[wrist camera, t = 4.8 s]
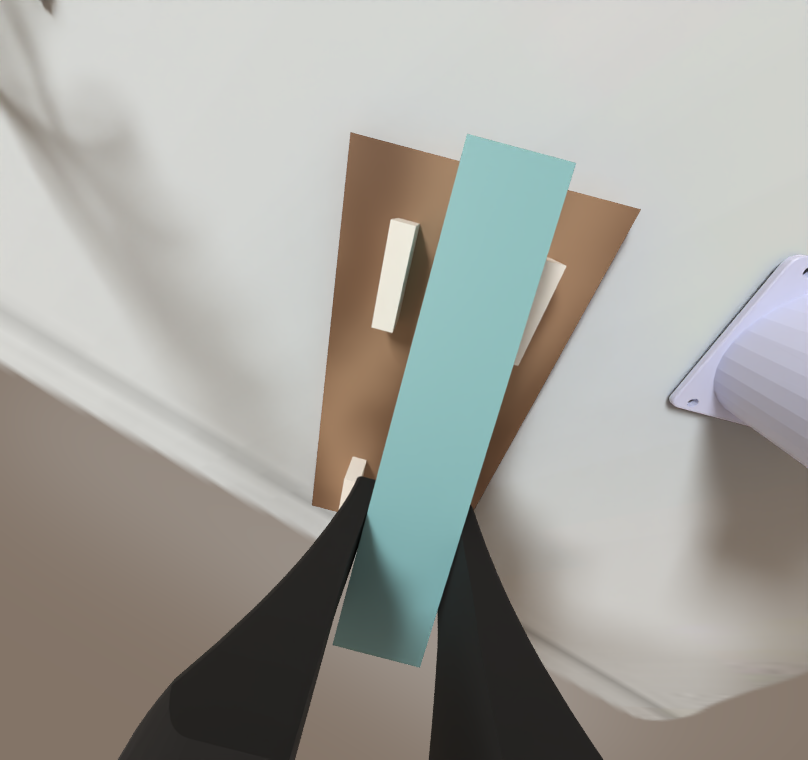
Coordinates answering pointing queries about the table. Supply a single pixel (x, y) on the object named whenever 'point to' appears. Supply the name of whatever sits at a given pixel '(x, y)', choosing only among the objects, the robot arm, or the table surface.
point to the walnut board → (388, 352)
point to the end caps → (393, 292)
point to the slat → (451, 392)
